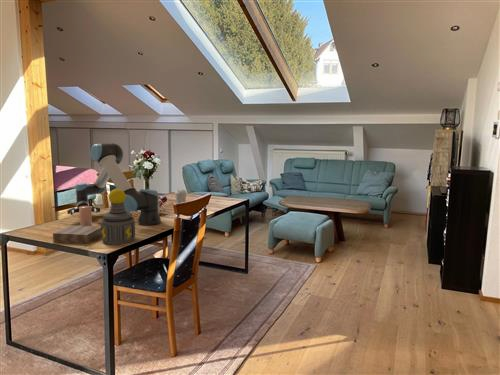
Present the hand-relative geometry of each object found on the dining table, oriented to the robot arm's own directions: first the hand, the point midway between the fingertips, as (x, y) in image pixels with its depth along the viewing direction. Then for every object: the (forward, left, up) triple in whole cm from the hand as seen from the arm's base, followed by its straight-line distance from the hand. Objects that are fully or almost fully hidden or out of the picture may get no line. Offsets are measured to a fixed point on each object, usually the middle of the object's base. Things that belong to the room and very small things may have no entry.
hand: (84, 213), depth 248 cm
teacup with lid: (-31, -41, -8) cm, 52 cm away
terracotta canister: (-5, +8, -8) cm, 12 cm away
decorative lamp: (-36, +29, -8) cm, 47 cm away
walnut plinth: (-12, +29, -8) cm, 32 cm away
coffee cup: (-47, -63, -8) cm, 79 cm away
